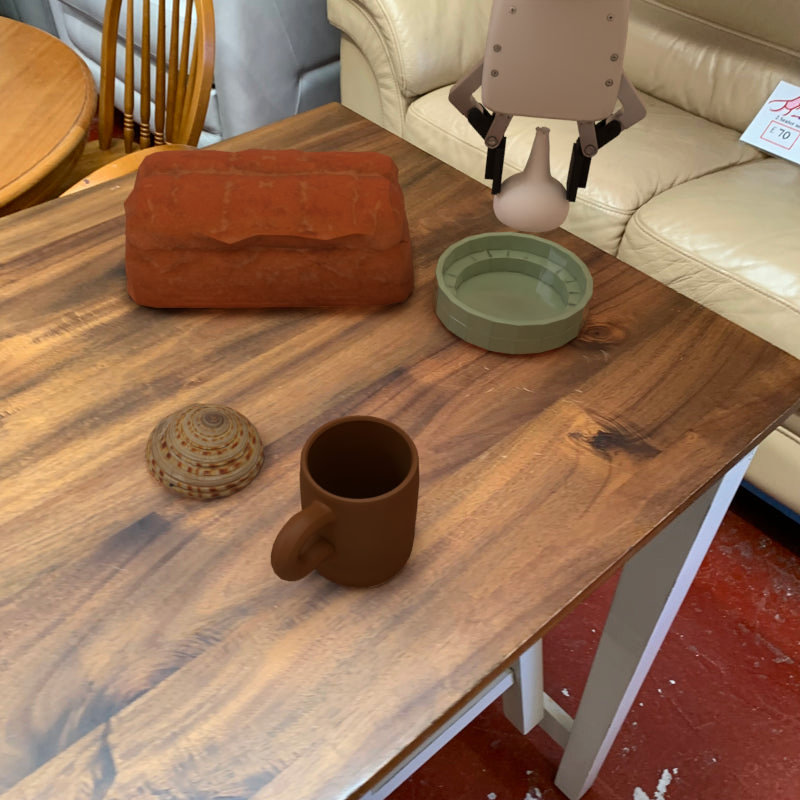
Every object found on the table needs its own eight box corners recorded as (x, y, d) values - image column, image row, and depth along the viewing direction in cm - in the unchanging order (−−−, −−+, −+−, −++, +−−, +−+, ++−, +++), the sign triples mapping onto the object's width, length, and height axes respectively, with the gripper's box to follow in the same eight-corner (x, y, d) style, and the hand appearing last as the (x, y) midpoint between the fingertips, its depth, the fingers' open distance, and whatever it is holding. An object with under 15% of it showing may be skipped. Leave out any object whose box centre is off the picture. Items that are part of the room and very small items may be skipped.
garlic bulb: (493, 239, 68) (504, 148, 63) (489, 200, 73) (499, 112, 67) (569, 242, 68) (587, 152, 63) (561, 203, 73) (577, 116, 67)
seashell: (181, 382, 66) (256, 384, 61) (212, 437, 69) (286, 443, 64) (111, 449, 60) (188, 457, 56) (147, 506, 63) (223, 517, 59)
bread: (147, 224, 85) (127, 127, 78) (405, 224, 87) (410, 129, 80) (120, 319, 74) (94, 216, 67) (416, 316, 76) (423, 216, 69)
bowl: (562, 261, 84) (569, 229, 81) (603, 354, 74) (613, 320, 71) (423, 267, 82) (425, 234, 79) (446, 362, 72) (449, 328, 69)
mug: (330, 664, 51) (326, 578, 45) (238, 602, 54) (222, 512, 48) (434, 536, 59) (444, 446, 52) (348, 487, 61) (347, 396, 55)
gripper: (692, -57, 58) (635, 178, 71) (449, -73, 60) (435, 159, 72) (705, -24, 53) (641, 224, 65) (437, -43, 54) (425, 203, 67)
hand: (533, 188), depth 68 cm, fingers closed on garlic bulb, 5 cm apart
